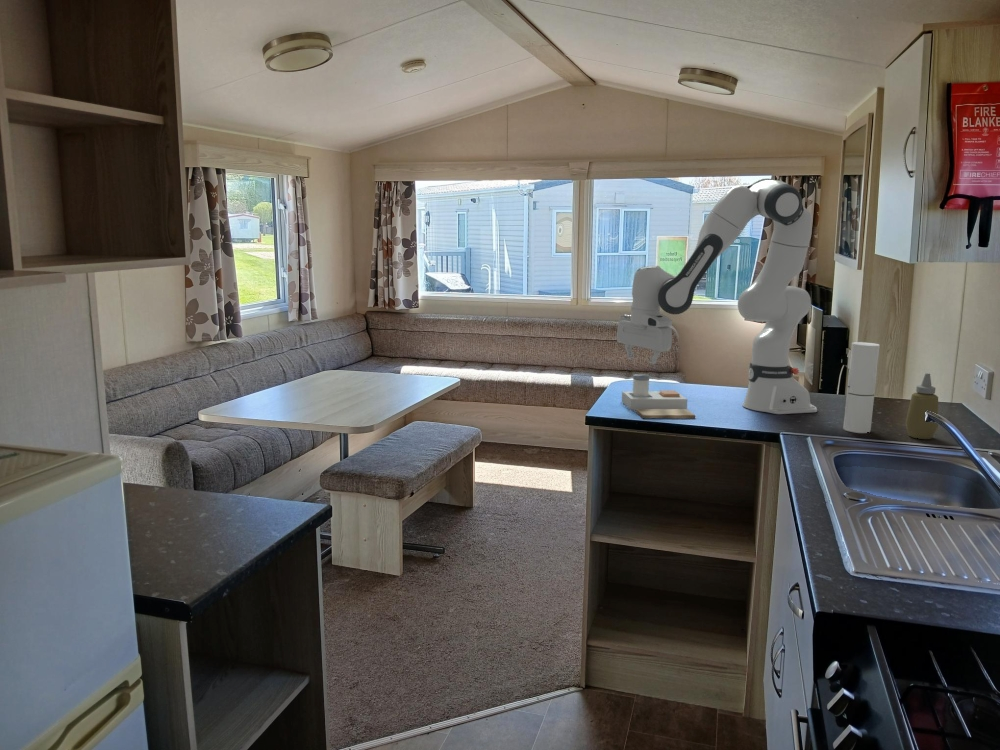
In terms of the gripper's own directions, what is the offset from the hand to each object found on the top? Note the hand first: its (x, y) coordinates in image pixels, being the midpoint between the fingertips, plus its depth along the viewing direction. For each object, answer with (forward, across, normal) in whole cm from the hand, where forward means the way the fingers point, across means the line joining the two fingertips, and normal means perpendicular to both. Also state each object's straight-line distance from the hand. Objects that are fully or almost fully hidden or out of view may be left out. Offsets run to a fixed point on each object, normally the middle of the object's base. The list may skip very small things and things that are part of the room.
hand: (641, 360), depth 245 cm
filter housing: (+15, +3, +4) cm, 15 cm away
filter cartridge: (+15, 0, 0) cm, 15 cm away
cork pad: (+14, +14, -3) cm, 20 cm away
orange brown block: (+14, +6, +8) cm, 17 cm away
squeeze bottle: (+13, +71, +36) cm, 81 cm away
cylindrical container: (+13, +57, +29) cm, 65 cm away
